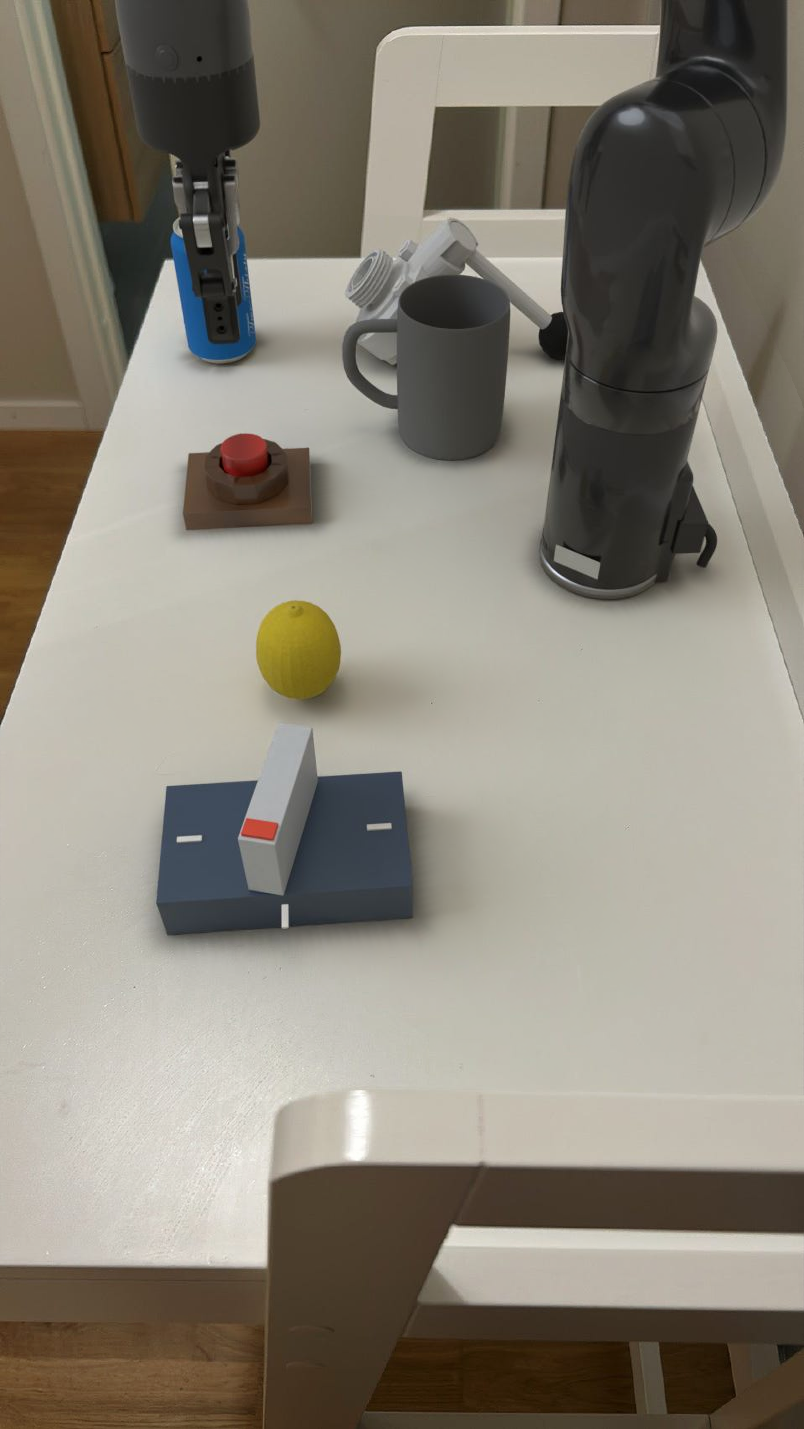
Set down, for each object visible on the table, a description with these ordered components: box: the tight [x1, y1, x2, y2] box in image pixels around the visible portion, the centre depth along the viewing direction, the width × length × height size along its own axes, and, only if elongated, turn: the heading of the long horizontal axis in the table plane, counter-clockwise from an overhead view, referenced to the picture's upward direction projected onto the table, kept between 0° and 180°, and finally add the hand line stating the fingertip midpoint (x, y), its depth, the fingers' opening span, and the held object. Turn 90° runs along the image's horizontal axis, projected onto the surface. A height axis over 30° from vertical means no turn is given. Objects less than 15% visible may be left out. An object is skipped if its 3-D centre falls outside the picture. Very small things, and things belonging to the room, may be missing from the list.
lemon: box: [255, 600, 342, 700], centre depth 68 cm, size 6×6×8 cm
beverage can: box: [170, 216, 257, 365], centre depth 96 cm, size 6×6×12 cm
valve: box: [344, 217, 568, 366], centre depth 98 cm, size 10×20×15 cm
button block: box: [182, 438, 313, 531], centre depth 84 cm, size 10×8×4 cm
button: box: [221, 432, 269, 477], centre depth 83 cm, size 4×4×2 cm
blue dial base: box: [155, 771, 414, 936], centre depth 61 cm, size 14×12×4 cm
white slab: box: [238, 722, 319, 895], centre depth 58 cm, size 8×2×5 cm, turn 169°
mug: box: [341, 274, 511, 461], centre depth 87 cm, size 14×9×12 cm
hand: (226, 321), depth 74 cm, fingers open, 4 cm apart
